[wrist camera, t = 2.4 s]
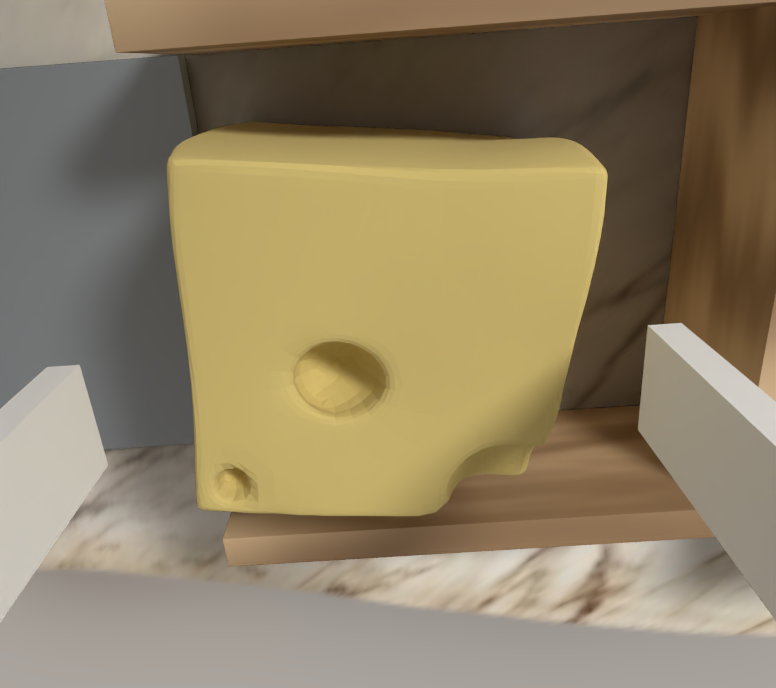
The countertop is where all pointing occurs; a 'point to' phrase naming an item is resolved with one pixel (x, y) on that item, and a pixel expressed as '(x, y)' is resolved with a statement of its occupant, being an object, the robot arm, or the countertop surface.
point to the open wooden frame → (685, 284)
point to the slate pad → (96, 240)
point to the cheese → (375, 308)
